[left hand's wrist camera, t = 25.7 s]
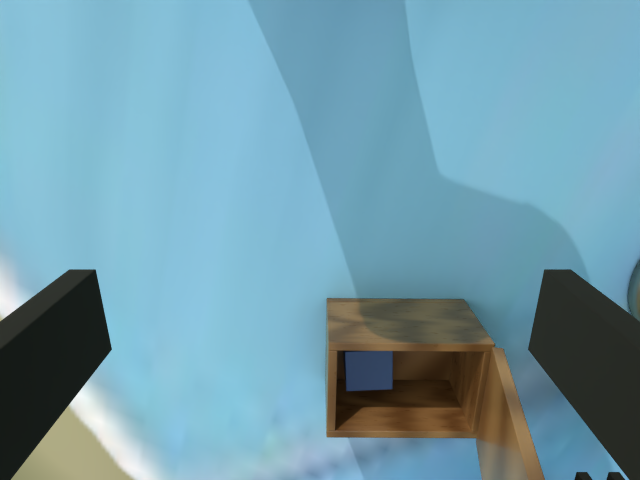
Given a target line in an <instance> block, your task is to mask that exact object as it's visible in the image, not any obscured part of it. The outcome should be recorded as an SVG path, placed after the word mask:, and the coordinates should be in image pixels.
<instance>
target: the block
mask: <svg viewBox="0 0 640 480" xmlns="http://www.w3.org/2000/svg"><path fill="white" fill-rule="evenodd" d="M343 359H344V372H345V383H346V391H364V390H387V389H393V351H343Z"/></svg>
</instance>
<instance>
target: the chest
mask: <svg viewBox="0 0 640 480" xmlns="http://www.w3.org/2000/svg"><path fill="white" fill-rule="evenodd" d="M492 347H495V343H494V342H493V341H492V339H491V338H490V336H489V335H488V333H487V332H486V330H485V329H484V328H483V326H482V325H481V323H480V322H479V320H478V319H477V317H476V316H475V315H474V313H473V312H472V310H471V309H470V307H469V306H468V305H467V303H466V302H465V300H464V299H347V298H327V310H326V365H325V393H326V435H327V437H366V438H477V433H478V427H479V421H480V415H481V410H482V404H483V398H484V392H485V386H486V380H487V374H488V368H489V363H490V357H491V351H492ZM343 351H393V389H387V390H364V391H346V383H345V372H344V359H343Z"/></svg>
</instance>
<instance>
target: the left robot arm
mask: <svg viewBox="0 0 640 480" xmlns="http://www.w3.org/2000/svg"><path fill="white" fill-rule="evenodd" d="M111 350H112V348H111V343H110V338H109V333H108V328H107V323H106V318H105V313H104V309H103V304H102V299H101V294H100V289H99V284H98V279H97V274H96V270H68V271H67V272H66V273H64V274H63V275H62V276H60V277H59V278H58V279H56V280H55V281H54V282H52V283H51V284H50V285H48V286H47V287H46V288H44V289H43V290H42V291H40V292H39V293H38V294H36V295H35V296H34V297H32V298H31V299H30V300H28V301H27V302H26V303H24V304H23V305H22V306H20V307H19V308H18V309H16V310H15V311H14V312H12V313H11V314H10V315H8V316H7V317H6V318H4V319H3V320H2V321H0V480H11V478H12V477H13V476H14V475H15V473H16V472H17V471H18V469H19V468H20V467H21V466H22V464H23V463H24V462H25V460H26V459H27V458H28V457H29V455H30V454H31V453H32V451H33V450H34V449H35V448H36V446H37V445H38V444H39V442H40V441H41V440H42V438H43V437H44V436H45V435H46V433H47V432H48V431H49V430H50V428H51V427H52V426H53V424H54V423H55V422H56V420H57V419H58V418H59V417H60V415H61V414H62V413H63V411H64V410H65V409H66V408H67V406H68V405H69V404H70V403H71V401H72V400H73V399H74V397H75V396H76V395H77V394H78V392H79V391H80V390H81V388H82V387H83V386H84V385H85V383H86V382H87V381H88V379H89V378H90V377H91V375H92V374H93V373H94V372H95V370H96V369H97V368H98V366H99V365H100V364H101V363H102V361H103V360H104V359H105V357H106V356H107V355H108V354H109V352H110V351H111ZM528 350H529V351H530V352H531V354H532V355H533V356H534V357H535V359H536V360H537V361H538V363H539V364H540V365H541V366H542V368H543V369H544V370H545V372H546V373H547V374H548V375H549V377H550V378H551V379H552V381H553V382H554V383H555V385H556V386H557V387H558V388H559V390H560V391H561V392H562V394H563V395H564V396H565V397H566V399H567V400H568V401H569V403H570V404H571V405H572V406H573V408H574V409H575V410H576V412H577V413H578V414H579V415H580V417H581V418H582V419H583V421H584V422H585V423H586V424H587V426H588V427H589V428H590V430H591V431H592V432H593V433H594V435H595V436H596V437H597V439H598V440H599V441H600V442H601V444H602V445H603V446H604V448H605V449H606V450H607V451H608V453H609V454H610V455H611V457H612V458H613V459H614V460H615V462H616V463H617V464H618V466H619V467H620V468H621V469H622V471H623V472H624V473H625V475H626V476H627V477H628V478H629V480H640V321H638V320H637V319H636V318H634V317H633V316H632V315H630V314H629V313H628V312H626V311H625V310H624V309H622V308H621V307H620V306H618V305H617V304H616V303H614V302H613V301H612V300H610V299H609V298H608V297H606V296H605V295H604V294H602V293H601V292H600V291H598V290H597V289H596V288H594V287H593V286H592V285H590V284H589V283H588V282H586V281H585V280H584V279H582V278H581V277H580V276H578V275H577V274H576V273H574V272H573V271H572V270H544V274H543V279H542V284H541V289H540V294H539V299H538V304H537V309H536V313H535V318H534V323H533V328H532V333H531V338H530V343H529V348H528Z"/></svg>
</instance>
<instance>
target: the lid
mask: <svg viewBox="0 0 640 480" xmlns="http://www.w3.org/2000/svg"><path fill="white" fill-rule="evenodd" d="M476 445H477V452H478V458H479V464H480V471H481V477H482V480H545V478H544V475H543V472H542V469H541V466H540V463H539V460H538V456H537V453H536V450H535V447H534V444H533V441H532V438H531V434H530V431H529V428H528V425H527V422H526V419H525V415H524V412H523V409H522V406H521V403H520V400H519V397H518V393H517V390H516V387H515V384H514V381H513V378H512V375H511V371H510V368H509V365H508V362H507V359H506V356H505V353H504V349H503V348H495V347H492V351H491V357H490V363H489V368H488V374H487V380H486V386H485V392H484V398H483V404H482V410H481V415H480V421H479V427H478V433H477V439H476Z"/></svg>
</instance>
